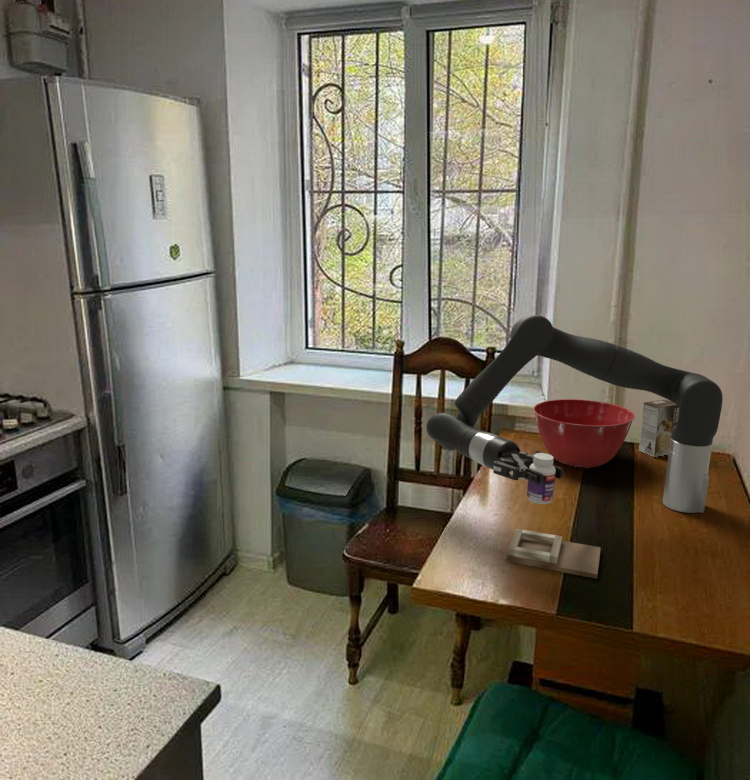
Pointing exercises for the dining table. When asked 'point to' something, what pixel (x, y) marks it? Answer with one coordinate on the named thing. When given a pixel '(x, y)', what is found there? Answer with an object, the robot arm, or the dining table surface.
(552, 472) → the pill bottle
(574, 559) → the socket board
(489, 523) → the dining table surface
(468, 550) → the dining table surface
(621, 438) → the mixing bowl
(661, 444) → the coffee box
